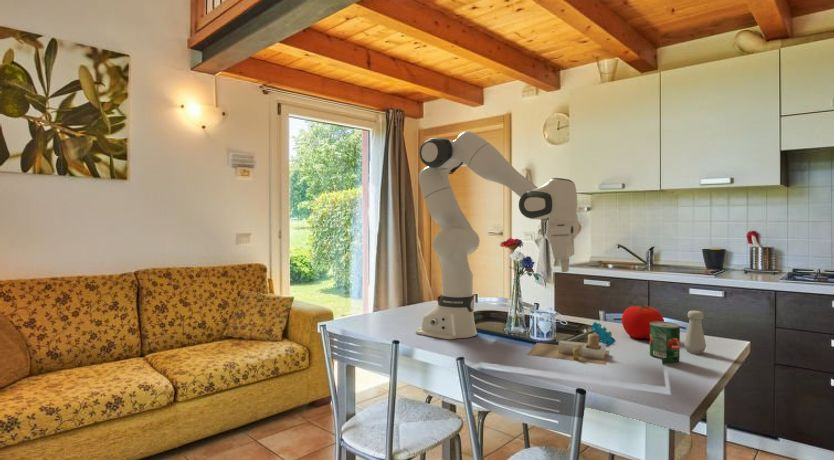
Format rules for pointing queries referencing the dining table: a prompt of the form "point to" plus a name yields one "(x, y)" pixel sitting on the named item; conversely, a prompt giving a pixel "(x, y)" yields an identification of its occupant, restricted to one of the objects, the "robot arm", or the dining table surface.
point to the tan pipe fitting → (582, 349)
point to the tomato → (640, 320)
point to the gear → (603, 334)
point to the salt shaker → (695, 333)
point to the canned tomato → (665, 342)
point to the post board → (552, 352)
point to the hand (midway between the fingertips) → (565, 271)
